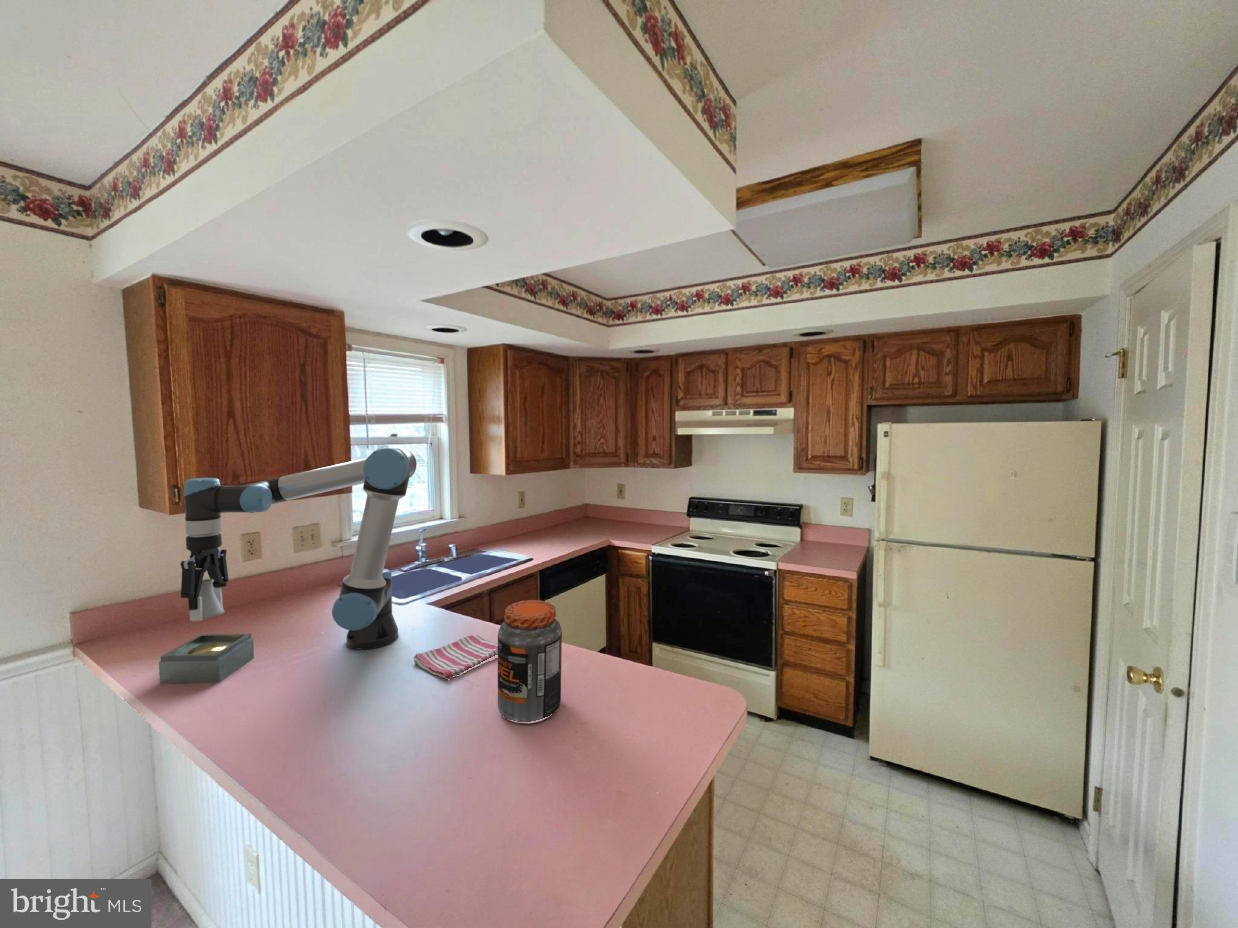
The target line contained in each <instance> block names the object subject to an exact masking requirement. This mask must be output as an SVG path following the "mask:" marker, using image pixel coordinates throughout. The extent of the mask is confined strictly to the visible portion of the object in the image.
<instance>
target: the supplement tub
mask: <svg viewBox="0 0 1238 928" xmlns="http://www.w3.org/2000/svg"><path fill="white" fill-rule="evenodd" d="M556 617H557V613H556V606H555V605H554V604H553V603H552V602H548V601H544V600H539V599H538V600H537V599H531V600H530V599H528V600H521V601H516V602H514V603H511V604H510V605H508V606H507V607H506V608H505V610H504V617H503V618H504V619H503V622H502V624H500V626H499V628H498V632H497V644H498V658H497V709H498V712H499V714H500V716H502V717H503V716H504V717H505V718H507V719H509V720H513V721H517V722H531V721H536V720H540V719H543V718H545V717H548V716H550V715H551V714H553V713H554V712H555V711H556V710H557V709H559V708H560V705H561V702H562V646H563V645H562V644H563V631H562V630H563V629H562V626H561V624H560V622H559V621H558V620H557V618H556ZM557 711H558V710H557ZM555 713H556V712H555ZM555 713H554V714H555ZM554 714H553V715H554ZM504 717H503V718H504ZM505 718H504V719H505Z"/></svg>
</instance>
